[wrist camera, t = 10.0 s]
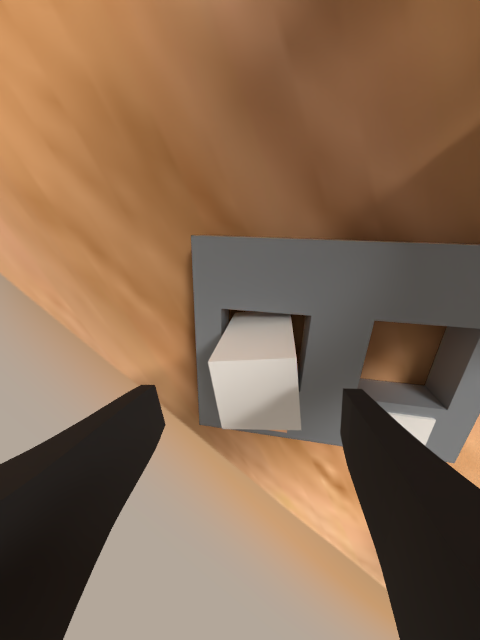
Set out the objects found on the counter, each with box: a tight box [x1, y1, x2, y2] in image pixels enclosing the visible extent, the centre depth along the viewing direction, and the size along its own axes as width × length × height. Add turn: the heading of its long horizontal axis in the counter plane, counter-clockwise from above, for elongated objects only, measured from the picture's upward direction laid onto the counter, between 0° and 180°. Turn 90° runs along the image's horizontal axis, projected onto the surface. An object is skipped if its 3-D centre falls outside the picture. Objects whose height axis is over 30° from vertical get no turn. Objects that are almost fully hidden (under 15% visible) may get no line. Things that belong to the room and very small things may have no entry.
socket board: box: [191, 235, 480, 463], centre depth 16 cm, size 18×14×3 cm
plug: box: [208, 311, 301, 430], centre depth 14 cm, size 4×4×7 cm
